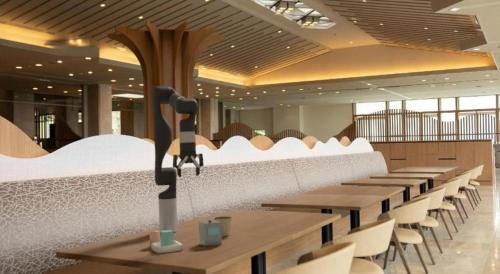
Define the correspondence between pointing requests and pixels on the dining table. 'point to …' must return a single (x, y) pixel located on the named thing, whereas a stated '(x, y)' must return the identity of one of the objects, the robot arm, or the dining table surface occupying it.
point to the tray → (166, 247)
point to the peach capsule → (154, 236)
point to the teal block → (167, 238)
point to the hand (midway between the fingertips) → (188, 176)
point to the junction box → (210, 233)
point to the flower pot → (224, 224)
